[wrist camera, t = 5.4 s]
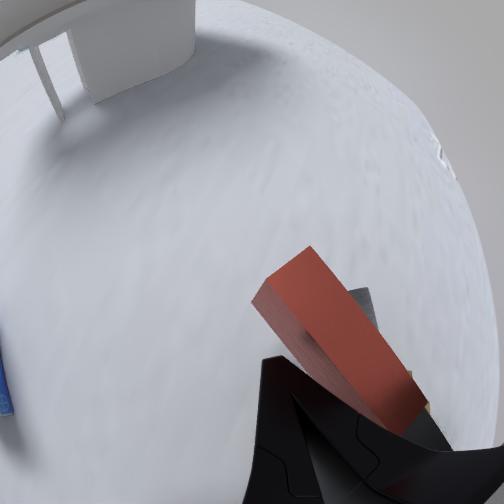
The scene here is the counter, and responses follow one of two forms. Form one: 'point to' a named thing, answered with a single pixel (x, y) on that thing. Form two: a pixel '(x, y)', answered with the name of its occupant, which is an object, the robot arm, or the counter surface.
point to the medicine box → (4, 395)
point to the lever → (344, 348)
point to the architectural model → (103, 39)
